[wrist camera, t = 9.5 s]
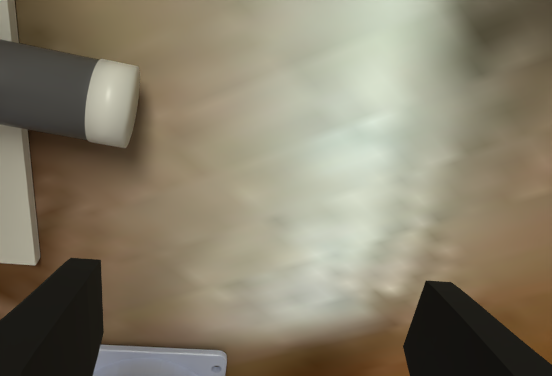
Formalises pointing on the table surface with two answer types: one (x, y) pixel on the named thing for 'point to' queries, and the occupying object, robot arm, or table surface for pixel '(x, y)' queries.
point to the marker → (68, 94)
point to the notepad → (16, 177)
